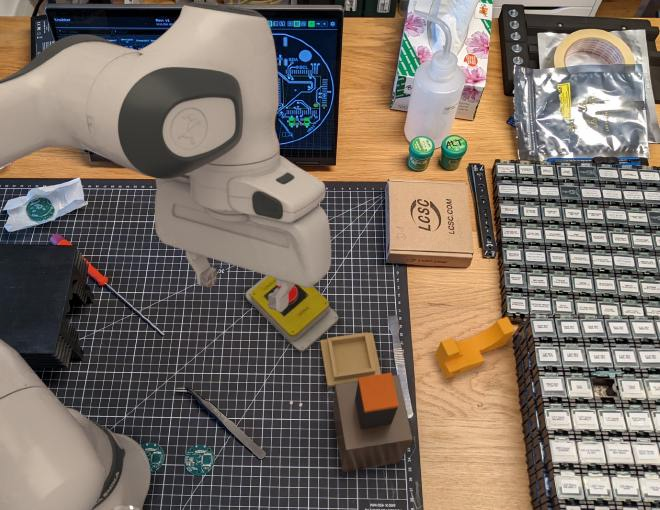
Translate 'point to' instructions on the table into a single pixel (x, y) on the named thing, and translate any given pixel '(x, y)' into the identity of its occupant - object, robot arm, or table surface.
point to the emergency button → (295, 312)
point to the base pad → (349, 358)
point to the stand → (368, 432)
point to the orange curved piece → (472, 348)
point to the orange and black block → (376, 400)
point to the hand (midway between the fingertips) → (242, 295)
